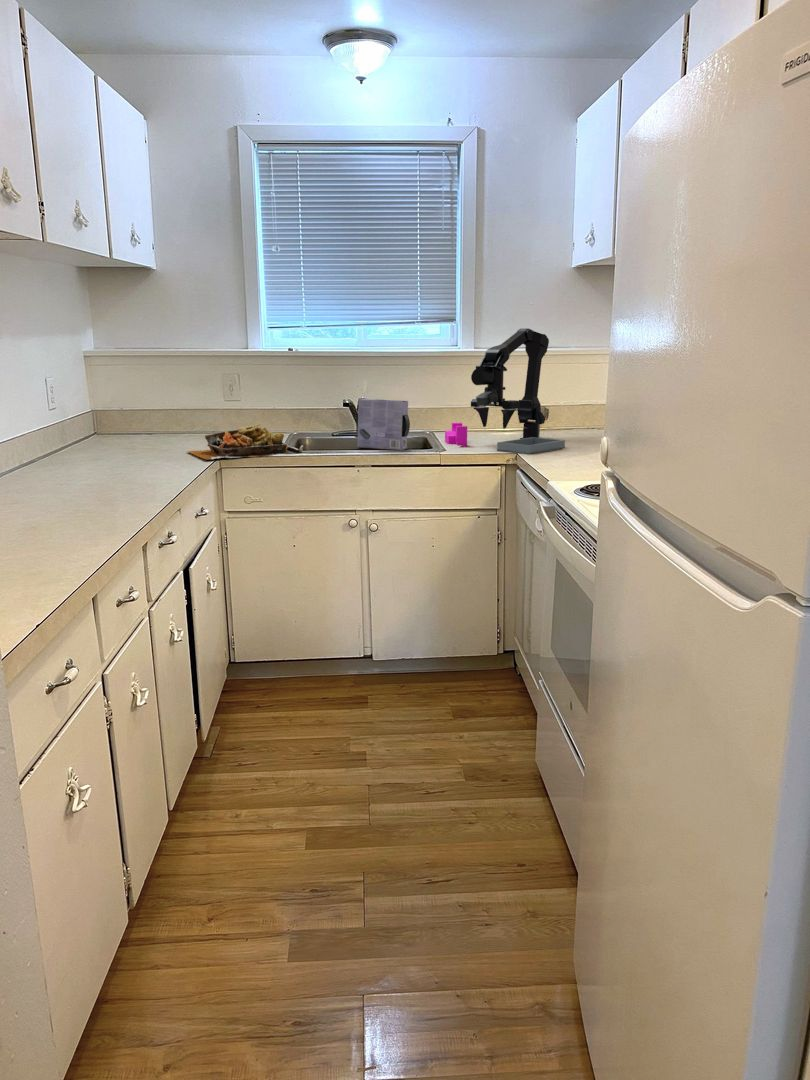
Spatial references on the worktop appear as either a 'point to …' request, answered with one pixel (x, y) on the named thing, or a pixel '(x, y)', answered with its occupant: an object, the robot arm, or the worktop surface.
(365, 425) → the cake pan box
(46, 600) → the worktop surface
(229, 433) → the food tray
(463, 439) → the toy block
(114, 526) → the worktop surface
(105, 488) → the worktop surface
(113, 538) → the worktop surface
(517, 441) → the tray
